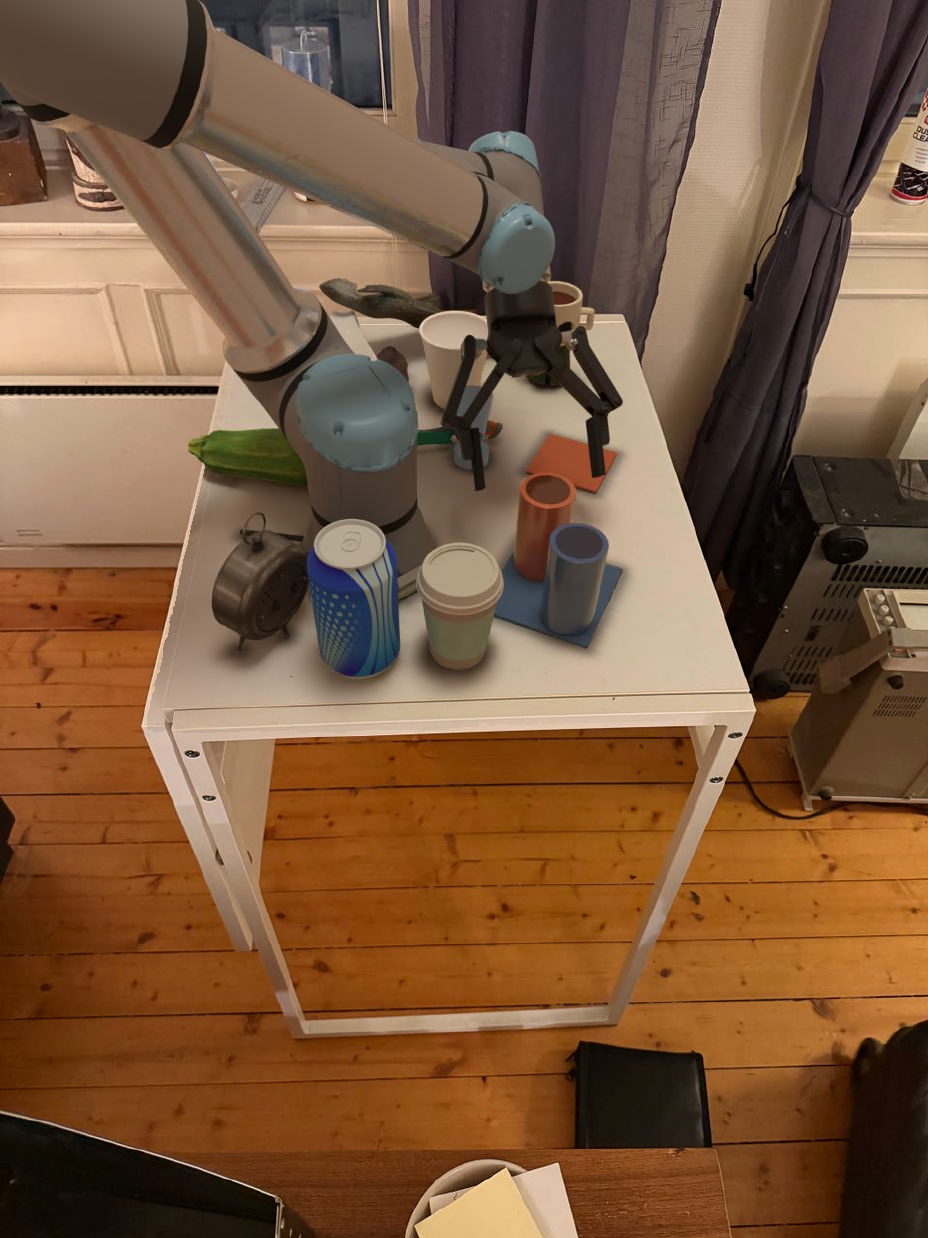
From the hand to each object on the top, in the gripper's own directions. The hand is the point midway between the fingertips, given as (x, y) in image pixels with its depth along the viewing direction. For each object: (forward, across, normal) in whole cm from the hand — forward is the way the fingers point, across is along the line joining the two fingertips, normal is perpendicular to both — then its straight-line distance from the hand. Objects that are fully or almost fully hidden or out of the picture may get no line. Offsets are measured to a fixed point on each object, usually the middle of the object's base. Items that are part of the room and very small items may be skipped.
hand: (540, 483), depth 96 cm
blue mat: (+12, 0, -2) cm, 12 cm away
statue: (-26, -9, -38) cm, 47 cm away
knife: (-8, +9, -22) cm, 25 cm away
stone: (-21, +14, -33) cm, 42 cm away
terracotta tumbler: (+9, 0, -4) cm, 10 cm away
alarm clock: (+12, +31, -1) cm, 33 cm away
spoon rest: (-20, +18, -34) cm, 43 cm away
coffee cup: (+17, +12, +3) cm, 21 cm away
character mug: (-18, -11, -32) cm, 38 cm away
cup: (-15, +3, -29) cm, 33 cm away
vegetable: (-7, +21, -15) cm, 26 cm away
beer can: (+16, +22, +2) cm, 27 cm away
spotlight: (-6, +4, -20) cm, 21 cm away
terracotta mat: (-4, -9, -17) cm, 20 cm away
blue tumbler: (+15, -1, +2) cm, 15 cm away
